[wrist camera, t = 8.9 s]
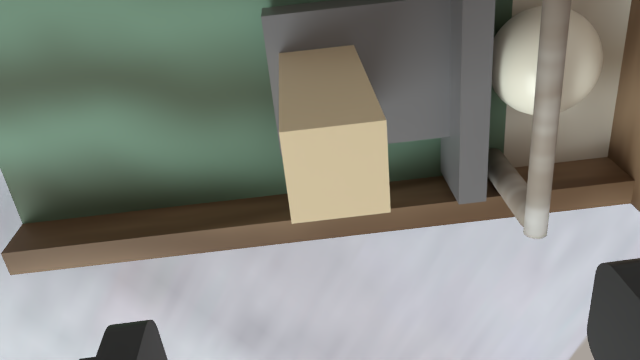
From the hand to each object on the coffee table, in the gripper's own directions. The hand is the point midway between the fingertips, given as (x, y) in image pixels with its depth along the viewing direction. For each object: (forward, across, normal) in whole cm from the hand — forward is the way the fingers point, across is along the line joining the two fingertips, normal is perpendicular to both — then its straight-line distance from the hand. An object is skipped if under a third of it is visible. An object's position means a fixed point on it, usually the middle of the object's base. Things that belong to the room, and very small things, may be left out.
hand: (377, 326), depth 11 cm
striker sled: (+16, -2, +1) cm, 17 cm away
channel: (+18, 0, +1) cm, 18 cm away
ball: (+14, -9, +1) cm, 17 cm away
